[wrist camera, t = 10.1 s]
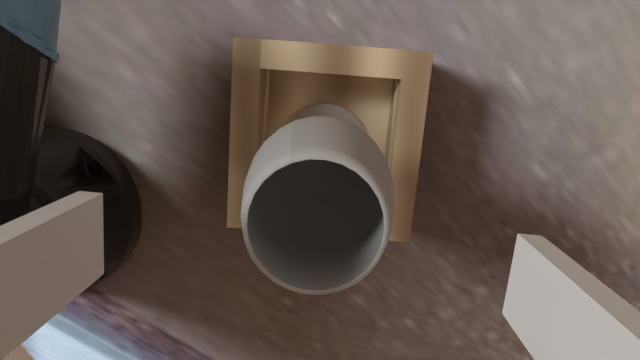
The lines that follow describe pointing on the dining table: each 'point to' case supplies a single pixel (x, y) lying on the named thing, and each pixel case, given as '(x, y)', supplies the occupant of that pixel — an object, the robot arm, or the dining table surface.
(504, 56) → the dining table surface
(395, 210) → the tan wooden open box
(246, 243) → the wineglass
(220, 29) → the dining table surface
